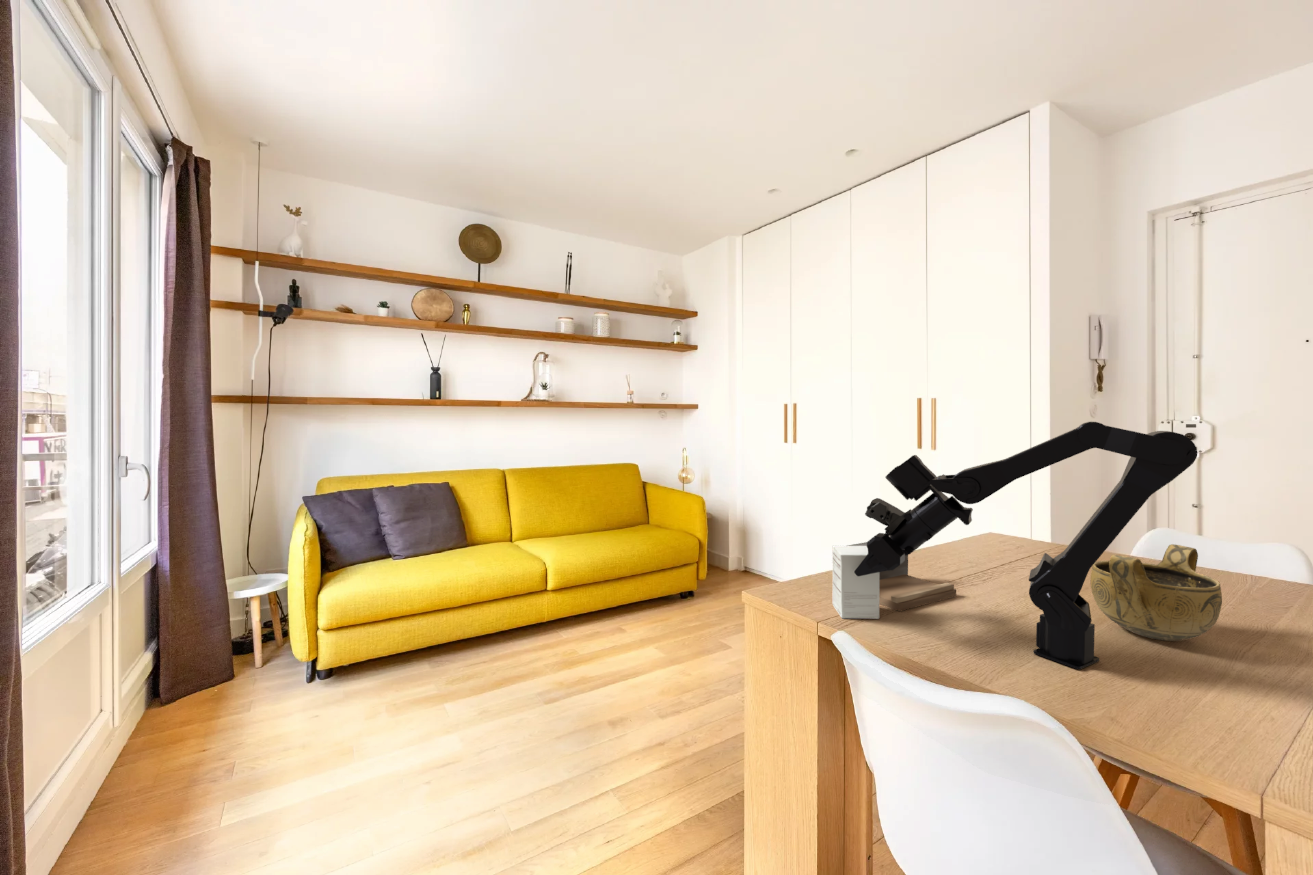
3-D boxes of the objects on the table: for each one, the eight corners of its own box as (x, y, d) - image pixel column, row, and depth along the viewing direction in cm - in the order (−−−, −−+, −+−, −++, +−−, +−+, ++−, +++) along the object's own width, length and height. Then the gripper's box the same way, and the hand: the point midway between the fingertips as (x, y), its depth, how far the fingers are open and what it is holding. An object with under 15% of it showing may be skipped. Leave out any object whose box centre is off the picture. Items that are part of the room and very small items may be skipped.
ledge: (959, 595, 113) (959, 549, 112) (896, 612, 104) (896, 562, 103) (900, 577, 126) (900, 536, 125) (839, 590, 117) (840, 546, 116)
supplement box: (868, 605, 107) (868, 545, 107) (880, 619, 100) (880, 554, 100) (831, 605, 108) (831, 544, 108) (840, 618, 101) (840, 554, 100)
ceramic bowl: (1181, 666, 81) (1184, 570, 80) (1059, 626, 96) (1061, 545, 96) (1247, 640, 90) (1250, 553, 89) (1126, 607, 105) (1128, 533, 105)
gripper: (905, 480, 106) (849, 527, 113) (880, 492, 91) (817, 544, 99) (948, 524, 102) (887, 569, 109) (929, 543, 87) (860, 594, 94)
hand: (863, 568), depth 103 cm, fingers open, 9 cm apart
